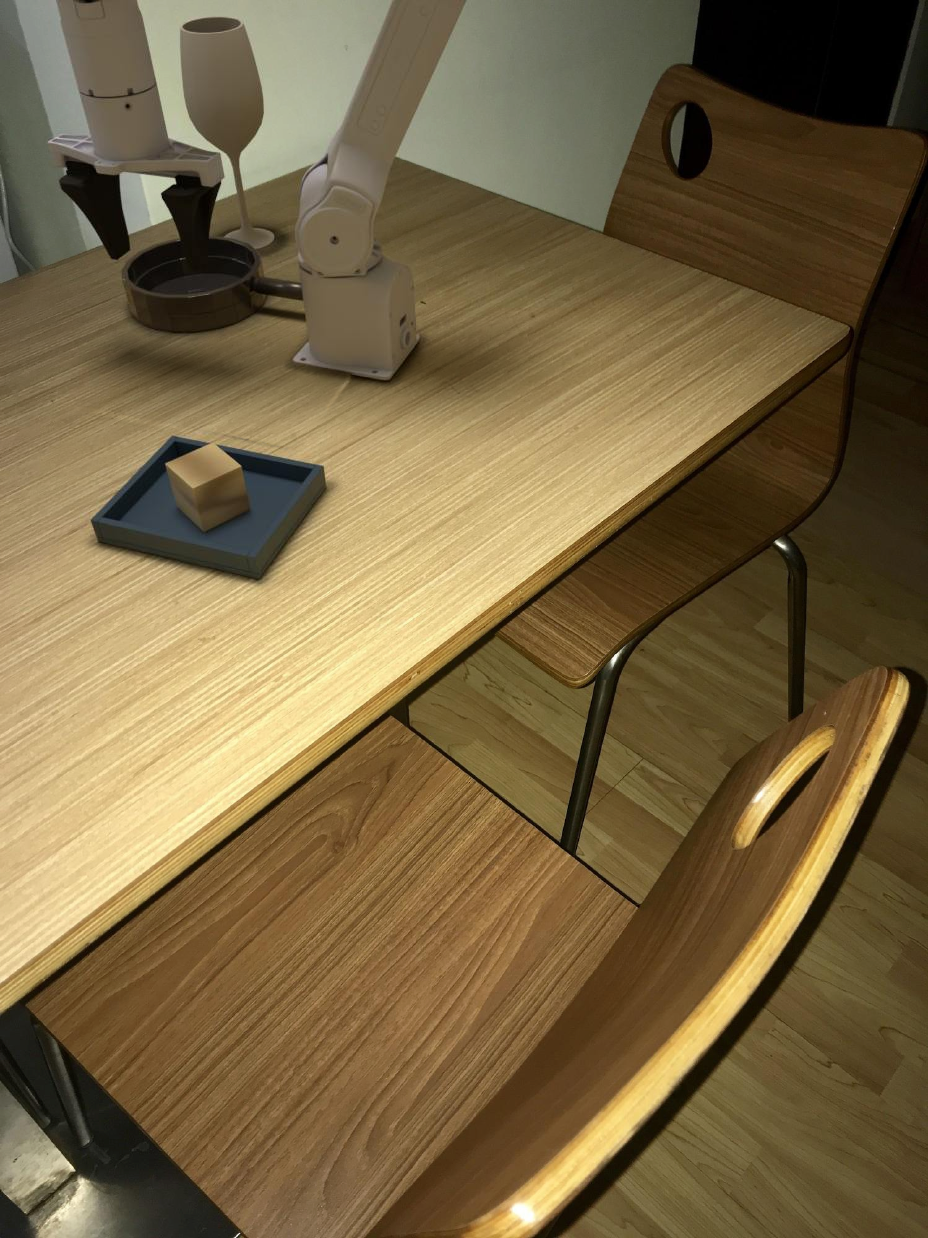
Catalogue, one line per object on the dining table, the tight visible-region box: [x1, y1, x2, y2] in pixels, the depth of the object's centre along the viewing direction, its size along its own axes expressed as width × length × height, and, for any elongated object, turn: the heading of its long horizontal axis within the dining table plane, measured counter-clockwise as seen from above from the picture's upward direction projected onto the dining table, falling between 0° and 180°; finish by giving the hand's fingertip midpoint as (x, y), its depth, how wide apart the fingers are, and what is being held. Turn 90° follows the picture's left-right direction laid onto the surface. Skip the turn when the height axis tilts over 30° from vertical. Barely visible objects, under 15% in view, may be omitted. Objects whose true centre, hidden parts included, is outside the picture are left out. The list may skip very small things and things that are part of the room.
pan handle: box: [252, 276, 304, 302], centre depth 94 cm, size 8×2×2 cm, turn 71°
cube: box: [165, 442, 250, 532], centre depth 73 cm, size 4×4×4 cm
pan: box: [120, 235, 267, 333], centre depth 97 cm, size 13×13×4 cm
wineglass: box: [179, 16, 275, 250], centre depth 101 cm, size 8×8×21 cm
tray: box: [90, 435, 327, 580], centre depth 74 cm, size 13×11×2 cm
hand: (159, 260), depth 84 cm, fingers open, 7 cm apart
